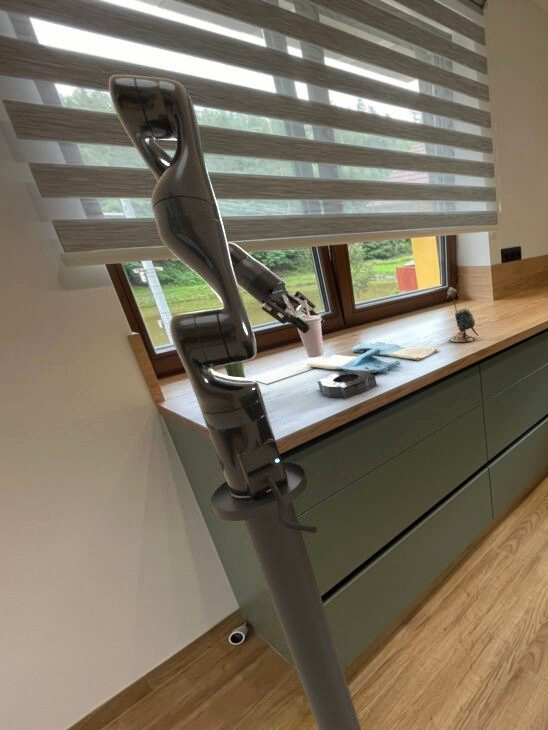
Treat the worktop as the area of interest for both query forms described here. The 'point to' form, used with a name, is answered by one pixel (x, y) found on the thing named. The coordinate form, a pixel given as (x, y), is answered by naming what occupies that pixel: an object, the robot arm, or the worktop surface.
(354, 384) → the board
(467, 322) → the ostrich figurine
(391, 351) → the rubber gloves
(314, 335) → the smoothie
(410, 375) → the worktop surface
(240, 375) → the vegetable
